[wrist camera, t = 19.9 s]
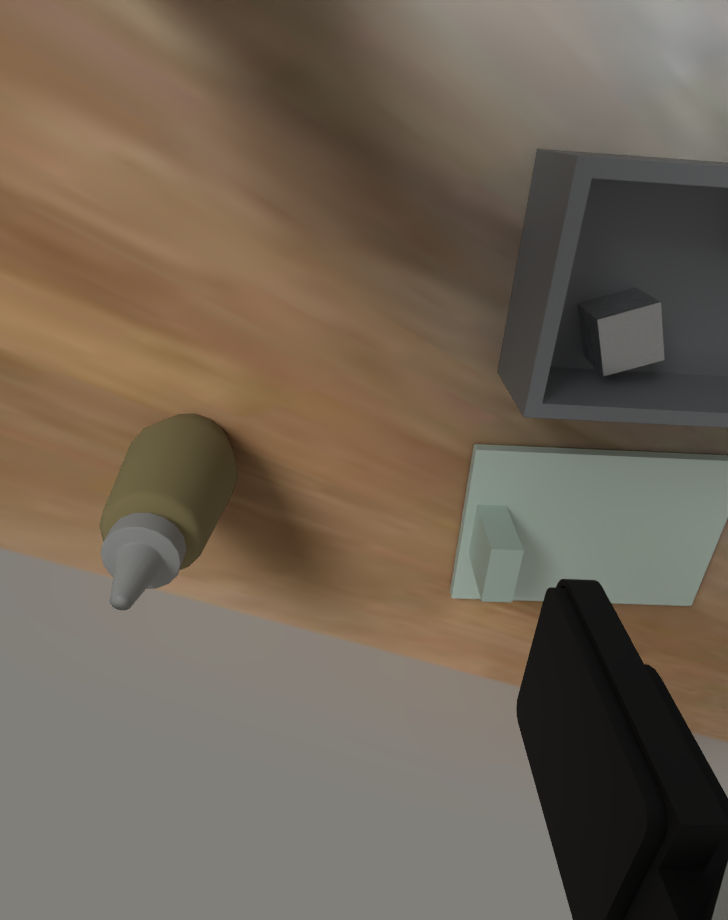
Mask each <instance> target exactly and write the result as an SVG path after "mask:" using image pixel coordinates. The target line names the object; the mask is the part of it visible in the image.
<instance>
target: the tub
mask: <svg viewBox="0 0 728 920" xmlns="http://www.w3.org/2000/svg"><path fill="white" fill-rule="evenodd" d="M634 287H637V288H638V289H640V290H642V291H643V292H645V293H647V294H648V295H650V296H652V297H653V298H655V299H657V300H658V301H660V302H661V310H662V327H663V343H664V360H663V361H659V362H655V363H652V364H648V365H644V366H640V367H637V368H633V369H629V370H626V371H622V372H618V373H614V374H611V375H607V376H603V375H602V374H601V373H600V372H599V371H598V370H597V369H596V368H595V367H594V366H593V365H592V364H591V363H590V362H589V361H588V360H587V359H586V358H585V357H584V353H583V345H582V337H581V329H580V321H579V313H578V305H577V303H581V302H584V301H588V300H591V299H595V298H598V297H602V296H605V295H609V294H612V293H616V292H619V291H623V290H627V289H630V288H634ZM498 374H499V376H500V377H501V379H502V381H503V383H504V384H505V386H506V388H507V389H508V391H509V393H510V395H511V396H512V398H513V400H514V402H515V403H516V405H517V407H518V408H519V410H520V412H521V414H522V415H523V417H528V418H548V419H567V420H587V421H606V422H626V423H645V424H665V425H684V426H704V427H724V428H728V163H723V162H709V161H695V160H682V159H668V158H654V157H640V156H627V155H613V154H599V153H585V152H572V151H558V150H544V149H537V153H536V158H535V164H534V170H533V175H532V181H531V187H530V192H529V198H528V203H527V209H526V215H525V220H524V226H523V232H522V237H521V243H520V248H519V254H518V260H517V265H516V271H515V277H514V282H513V288H512V293H511V299H510V305H509V310H508V316H507V322H506V327H505V333H504V338H503V344H502V350H501V355H500V361H499V367H498Z"/></svg>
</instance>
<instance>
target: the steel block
mask: <svg viewBox="0 0 728 920" xmlns="http://www.w3.org/2000/svg"><path fill="white" fill-rule="evenodd" d="M577 305H578V313H579V321H580V329H581V337H582V345H583V353H584V357H585V358H586V359H587V360H588V361H589V362H590V363H591V364H592V365H593V366H594V367H595V368H596V369H597V370H598V371H599V372H600V373H601V374H602V375H603V376H607V375H611V374H614V373H618V372H622V371H626V370H629V369H633V368H637V367H640V366H644V365H648V364H652V363H655V362H659V361H663V360H664V343H663V327H662V310H661V302H660V301H658V300H657V299H655V298H653V297H652V296H650V295H648V294H647V293H645V292H643V291H642V290H640V289H638V288H637V287H634V288H630V289H627V290H623V291H619V292H616V293H612V294H609V295H605V296H602V297H598V298H595V299H591V300H588V301H584V302H581V303H577Z"/></svg>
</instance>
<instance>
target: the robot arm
mask: <svg viewBox="0 0 728 920" xmlns="http://www.w3.org/2000/svg"><path fill="white" fill-rule="evenodd" d="M517 718H518V724H519V727H520V731H521V735H522V738H523V741H524V745H525V749H526V753H527V756H528V760H529V763H530V767H531V771H532V774H533V778H534V781H535V785H536V789H537V792H538V796H539V799H540V803H541V806H542V810H543V814H544V817H545V821H546V824H547V828H548V831H549V835H550V839H551V842H552V846H553V850H554V853H555V857H556V860H557V864H558V868H559V871H560V875H561V878H562V882H563V886H564V889H565V893H566V896H567V900H568V903H569V907H570V911H571V914H572V918H573V920H728V798H727V796H726V794H725V792H724V791H723V789H722V787H721V785H720V784H719V782H718V780H717V778H716V776H715V774H714V773H713V771H712V769H711V767H710V765H709V764H708V762H707V760H706V758H705V756H704V755H703V753H702V751H701V749H700V747H699V746H698V744H697V742H696V740H695V739H694V737H693V735H692V733H691V731H690V729H689V728H688V726H687V724H686V722H685V720H684V719H683V717H682V715H681V713H680V711H679V710H678V708H677V706H676V704H675V702H674V701H673V699H672V697H671V695H670V693H669V691H668V690H667V688H666V686H665V684H664V682H663V681H662V679H661V677H660V676H659V675H658V673H657V672H656V670H655V669H654V668H652V667H651V666H649V665H645V664H644V663H643V662H642V660H641V658H640V656H639V654H638V652H637V650H636V649H635V647H634V645H633V643H632V641H631V639H630V637H629V636H628V634H627V632H626V630H625V628H624V626H623V624H622V623H621V621H620V619H619V617H618V615H617V613H616V611H615V610H614V608H613V606H612V604H611V602H610V600H609V598H608V597H607V595H606V593H605V591H604V589H603V587H602V586H601V584H600V583H599V582H598V581H596V580H581V579H561V580H560V581H559V582H558V584H557V586H556V588H555V587H550V588H548V589H547V591H546V593H545V597H544V601H543V604H542V608H541V612H540V616H539V619H538V623H537V627H536V631H535V635H534V638H533V642H532V646H531V650H530V653H529V657H528V661H527V665H526V669H525V672H524V676H523V680H522V684H521V687H520V691H519V695H518V699H517Z"/></svg>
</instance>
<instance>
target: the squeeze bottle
mask: <svg viewBox="0 0 728 920" xmlns="http://www.w3.org/2000/svg"><path fill="white" fill-rule="evenodd" d="M237 478H238V474H237V466H236V458H235V456H234V453H233V450H232V447H231V444H230V442H229V439H228V438H227V436H226V434H225V433H224V431H223V429H222V428H221V427H220V426H218V425H217V424H216V423H215V422H213V421H212V420H211V419H209V418H206V417H203V416H200V415H197V414H179V415H176V416H174V417H171V418H168V419H166V420H163V421H161V422H159V423H156V424H154V425H152V426H149V427H147V428H144V429H143V430H142V431H141V433H140V434H139V435H138V436H137V437H136V438H135V439H134V440H133V441H132V443H131V445H130V447H129V449H128V452H127V454H126V457H125V459H124V461H123V464H122V466H121V469H120V471H119V474H118V476H117V478H116V481H115V483H114V486H113V488H112V490H111V493H110V495H109V498H108V500H107V502H106V505H105V507H104V510H103V514H102V518H101V522H100V530H101V533H102V537H103V545H102V549H101V557H102V561H103V564H104V566H105V568H106V569H107V570H108V571H109V573H110V574H111V575H112V576H113V583H112V590H111V596H110V604H111V605H112V606H113V607H114V608H116V609H118V610H127V609H129V608H130V607H131V606H132V605H133V604H134V602H135V601H136V600H137V599H138V598H139V596H140V595H141V594H142V593H143V592H144V590H145V589H153V588H158V587H161V586H164V585H166V584H169V583H170V582H171V581H172V580H173V579H174V578H175V577H176V576H177V575H178V572H179V570H181V569H183V568H186V567H189V566H190V565H191V564H192V563H193V562H194V561H195V560H196V559H197V558H198V557H199V556H200V555H201V553H202V551H203V549H204V547H205V545H206V543H207V541H208V539H209V537H210V536H211V534H212V532H213V530H214V528H215V526H216V524H217V522H218V520H219V518H220V516H221V514H222V512H223V510H224V508H225V507H226V505H227V503H228V501H229V499H230V497H231V495H232V493H233V490H234V487H235V484H236V481H237Z"/></svg>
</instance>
